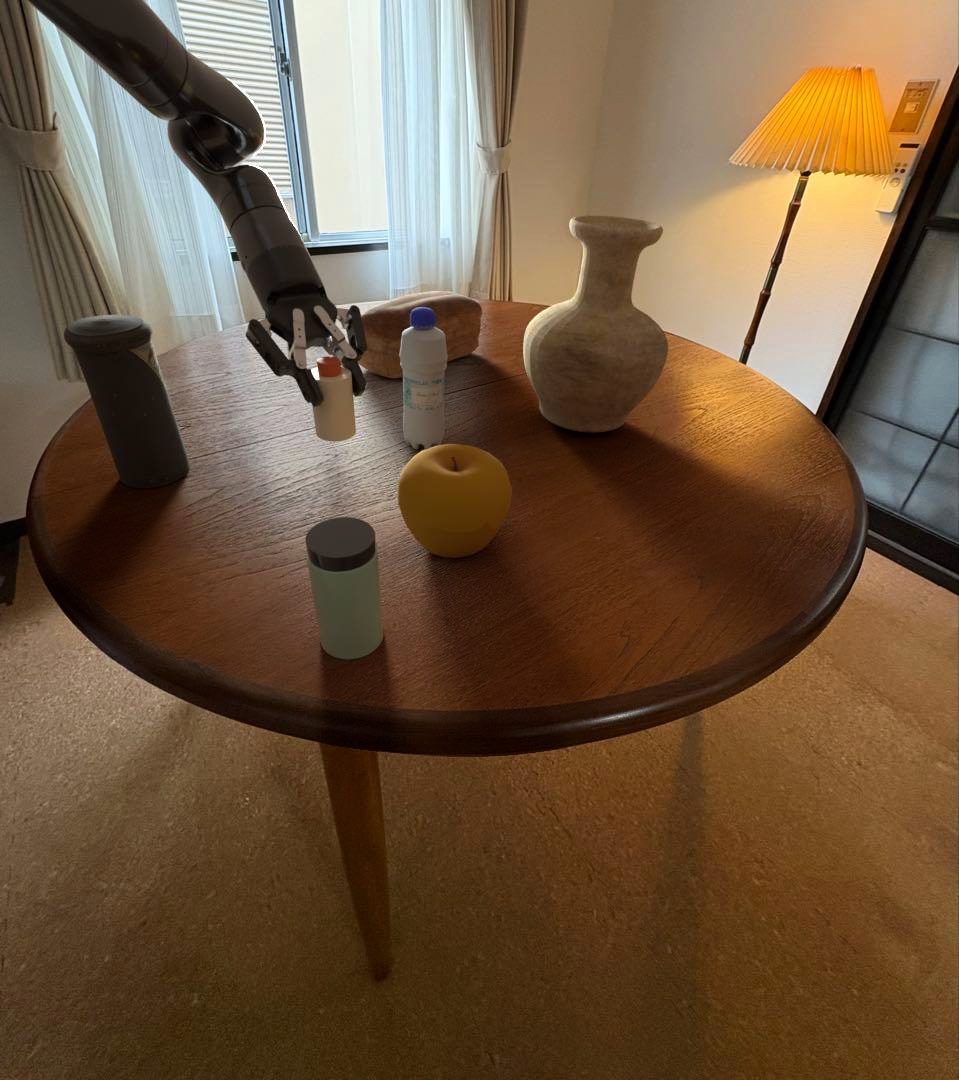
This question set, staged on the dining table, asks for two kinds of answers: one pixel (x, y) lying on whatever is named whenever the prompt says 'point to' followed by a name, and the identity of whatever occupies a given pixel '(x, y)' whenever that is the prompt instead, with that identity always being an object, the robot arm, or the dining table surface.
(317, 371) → the cream bottle
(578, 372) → the vase
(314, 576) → the celadon jar
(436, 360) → the bottle
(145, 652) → the dining table surface
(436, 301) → the bread
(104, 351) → the container
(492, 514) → the apple
